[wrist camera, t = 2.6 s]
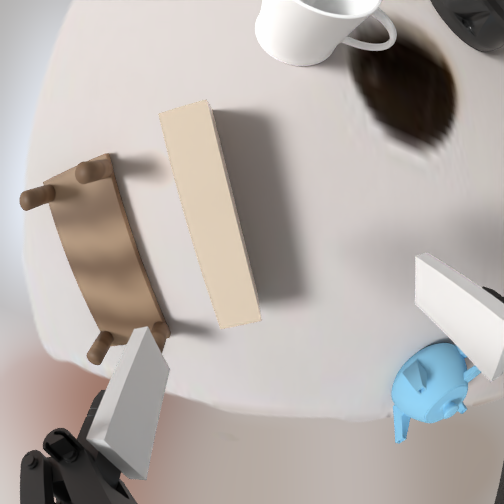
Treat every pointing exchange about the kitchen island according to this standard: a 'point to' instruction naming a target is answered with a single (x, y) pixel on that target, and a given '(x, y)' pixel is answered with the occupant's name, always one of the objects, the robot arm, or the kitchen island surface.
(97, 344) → the rack
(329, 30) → the mug
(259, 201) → the kitchen island surface
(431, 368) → the teapot
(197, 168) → the beige long block
